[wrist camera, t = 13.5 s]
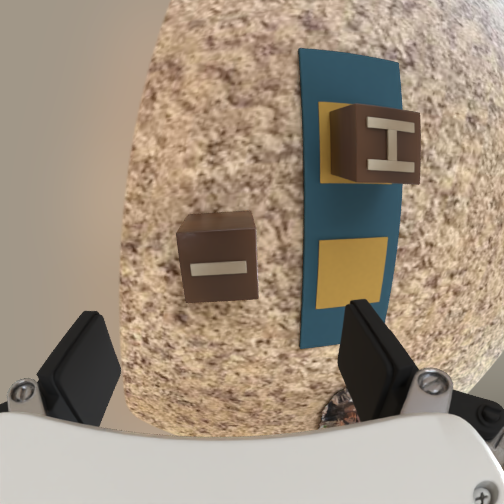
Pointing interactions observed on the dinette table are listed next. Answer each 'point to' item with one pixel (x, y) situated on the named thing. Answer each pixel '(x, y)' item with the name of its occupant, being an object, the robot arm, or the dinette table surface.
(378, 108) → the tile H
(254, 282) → the tile
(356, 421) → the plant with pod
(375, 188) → the word mat
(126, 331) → the dinette table surface
